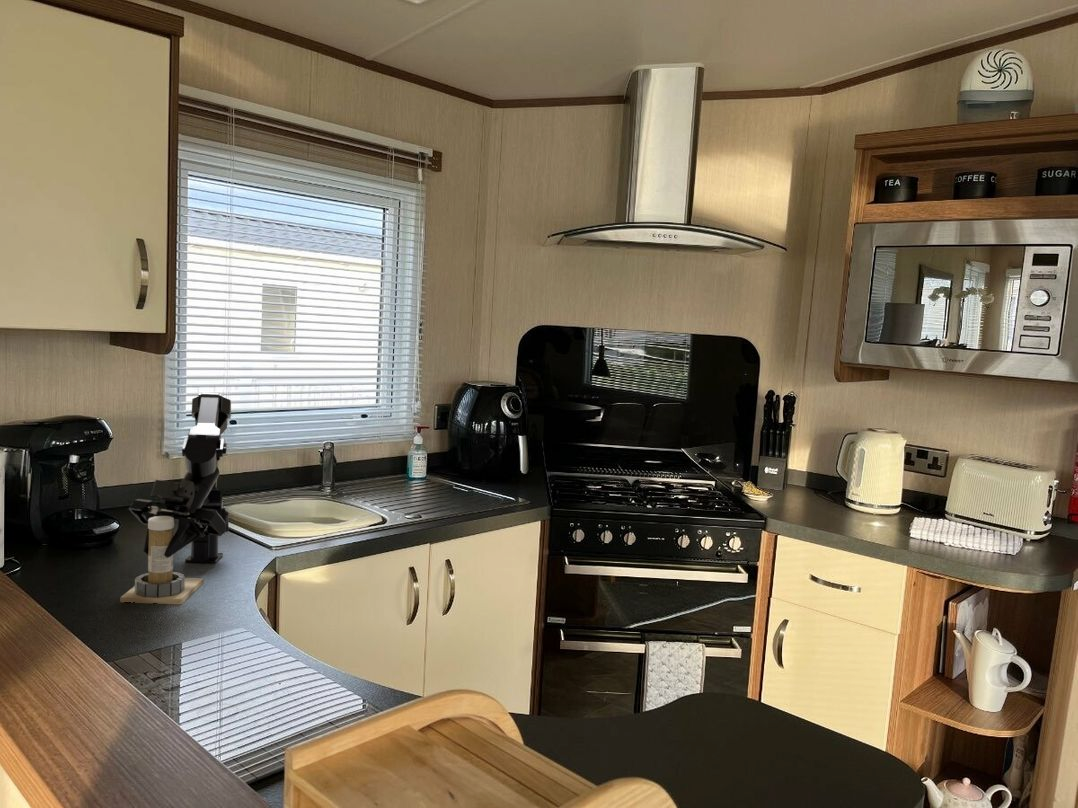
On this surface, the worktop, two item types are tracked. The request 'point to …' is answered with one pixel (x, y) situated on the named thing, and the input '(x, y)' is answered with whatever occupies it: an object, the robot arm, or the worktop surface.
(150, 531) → the sprinkles bottle
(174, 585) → the socket ring
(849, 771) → the worktop surface
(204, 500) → the robot arm
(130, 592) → the carrier plate
